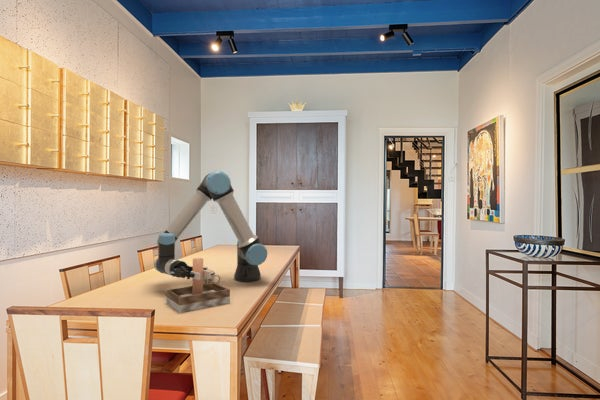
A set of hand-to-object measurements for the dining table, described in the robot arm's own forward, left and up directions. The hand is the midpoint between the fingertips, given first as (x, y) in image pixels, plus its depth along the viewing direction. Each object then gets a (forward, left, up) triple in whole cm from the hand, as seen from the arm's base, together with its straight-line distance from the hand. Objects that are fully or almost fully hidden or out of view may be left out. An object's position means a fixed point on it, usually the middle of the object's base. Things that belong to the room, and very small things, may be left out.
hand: (204, 275), depth 148 cm
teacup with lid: (-12, -24, -13) cm, 30 cm away
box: (+1, -5, -13) cm, 14 cm away
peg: (+1, -5, -9) cm, 11 cm away
